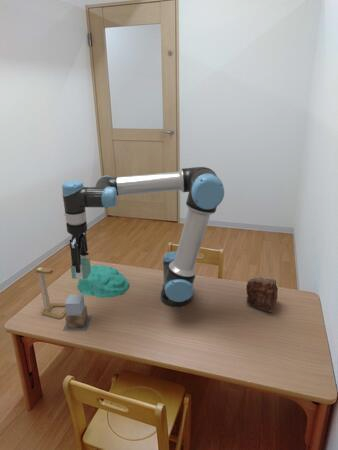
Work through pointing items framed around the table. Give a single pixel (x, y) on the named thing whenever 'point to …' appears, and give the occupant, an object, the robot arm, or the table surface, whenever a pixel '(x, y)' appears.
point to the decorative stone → (103, 282)
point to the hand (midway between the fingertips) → (82, 273)
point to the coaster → (79, 328)
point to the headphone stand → (47, 304)
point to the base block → (77, 320)
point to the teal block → (85, 268)
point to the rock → (262, 293)
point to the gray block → (74, 305)
